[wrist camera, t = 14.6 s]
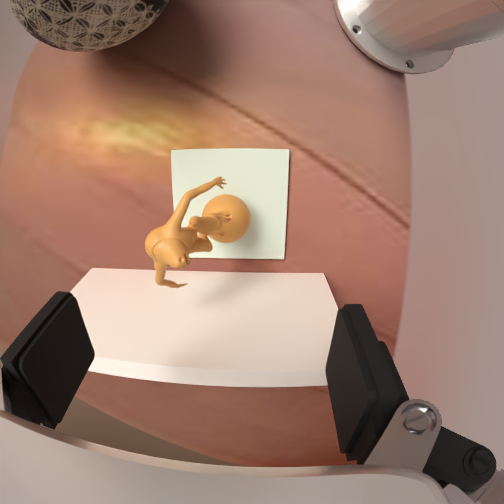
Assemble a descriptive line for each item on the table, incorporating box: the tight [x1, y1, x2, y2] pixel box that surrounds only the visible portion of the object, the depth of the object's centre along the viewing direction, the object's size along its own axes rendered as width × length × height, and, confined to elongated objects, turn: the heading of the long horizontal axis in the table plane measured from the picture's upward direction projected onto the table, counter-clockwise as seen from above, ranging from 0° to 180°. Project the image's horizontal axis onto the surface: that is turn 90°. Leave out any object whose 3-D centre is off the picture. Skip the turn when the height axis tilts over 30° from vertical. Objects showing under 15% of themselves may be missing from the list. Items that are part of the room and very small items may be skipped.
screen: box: [70, 268, 338, 387], centre depth 24 cm, size 24×2×13 cm, turn 89°
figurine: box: [145, 177, 250, 288], centre depth 21 cm, size 8×6×12 cm
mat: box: [171, 148, 289, 259], centre depth 27 cm, size 10×10×1 cm
